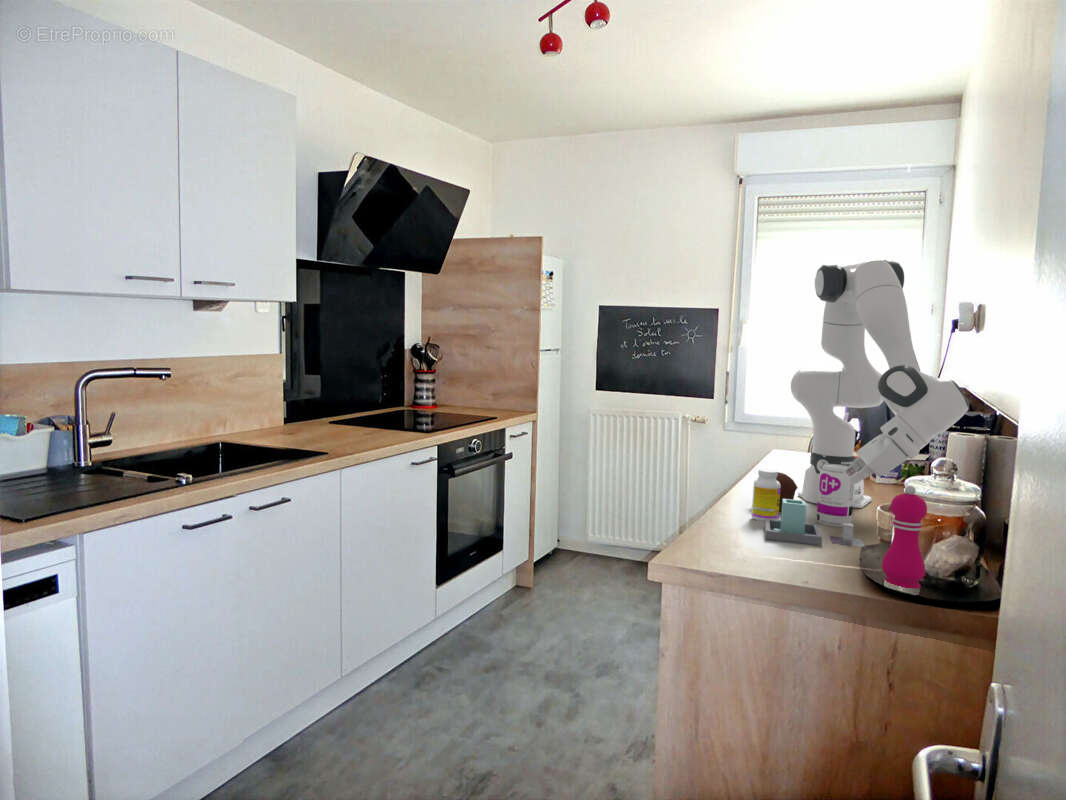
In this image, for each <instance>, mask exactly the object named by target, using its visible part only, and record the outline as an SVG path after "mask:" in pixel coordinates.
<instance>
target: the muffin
mask: <svg viewBox="0 0 1066 800" xmlns="http://www.w3.org/2000/svg"><path fill="white" fill-rule="evenodd" d="M776 480H777V481H778V482H779V483H780V485H781V488H780V503H779V512H782V499H792V500H795V499H794V498H795V494H796V491H797V490H798V486H797V484H796V481H794V479H793V478H792V477H790V476H789V475H787V474H786V473H783V472H779V471H778V476H777V477H776Z"/></svg>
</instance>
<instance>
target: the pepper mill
mask: <svg viewBox="0 0 1066 800" xmlns="http://www.w3.org/2000/svg"><path fill="white" fill-rule="evenodd" d="M916 491H917V489H916V488H915V487H914V486H913V485H907V486H906V487H905V488H904V493H900V494H898V495H896V496H895V497H894V498H893V499H892V501H890V511H891V513H892V515H893V516H894V517H893V518H892V523H891V526H892V527H894V528H893V537H892V538H893V539H892V541H891V543H890V546H889V547H888V549H887V551H886V552H885V554H884V556H883V559H882V561H881V562H882V563H881V569H882V572H883V573H884V574H885V576H886V577H884V578H885V580H886V581H887V582H889V583H891V584H894V585H897V586H901V587H905V588H915V589H916V588H920V587H922V585H921V583H919V581H921V580H922V579H923V578H924V577H925V575H926V566H925V565H926V564H925V560H924V558H923V555H922V553H921V549H920V545H919V544H920V543H919V542H920V541H919V536H920V531H922V530H923V525H924V522H923V521H922V520H923V519H924V518H925V517H926V515H927V512H928V506H927V503H926V501H925V499H923V498H922V497H921V496H919V495H917V494H916Z"/></svg>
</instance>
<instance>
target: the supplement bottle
mask: <svg viewBox="0 0 1066 800" xmlns="http://www.w3.org/2000/svg"><path fill="white" fill-rule="evenodd" d="M778 472H779V471H778V470H776V469H769V468H759V469H758V473H757V474H758V478H756V479H755V480H754V482H753V490H752V501H751V502H752V503H751V504H752V505H751V518H752V520H754V519H755V520H754V521H760V522H765V519H771V520H779V515H780V513H779V503H780V488H781V485H780V483H779V482H778V481H777V480H776V477H777V476H778Z"/></svg>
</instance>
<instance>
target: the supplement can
mask: <svg viewBox="0 0 1066 800" xmlns="http://www.w3.org/2000/svg"><path fill="white" fill-rule="evenodd" d="M848 467H849V466H846V465H838V464H824V465H823V467H822V468H821V470H820V477H819V490H818V502H817V504H816V515H815V520H816V521H817V522H818V523H820V524H821V525H825V526H829V527H838V528H843V523H848V524H852V516H853V508H854V507H853V495H854V483H853V482H852V481H851V479H850V476H849V475H848V474H847V473H846V472H845V469H846V468H848Z"/></svg>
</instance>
